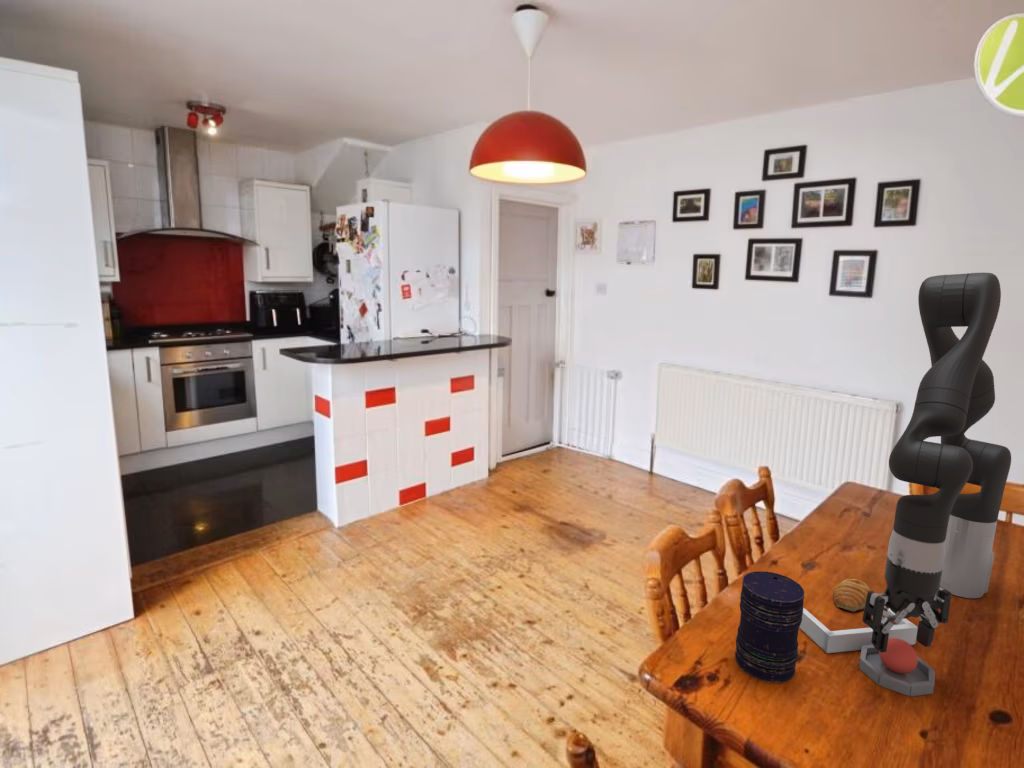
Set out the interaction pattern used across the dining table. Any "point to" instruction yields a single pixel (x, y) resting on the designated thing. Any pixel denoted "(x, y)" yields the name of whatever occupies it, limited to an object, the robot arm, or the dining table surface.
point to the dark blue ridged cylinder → (769, 626)
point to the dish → (897, 674)
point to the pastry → (851, 594)
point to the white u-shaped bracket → (852, 634)
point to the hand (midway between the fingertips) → (901, 646)
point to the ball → (899, 656)
